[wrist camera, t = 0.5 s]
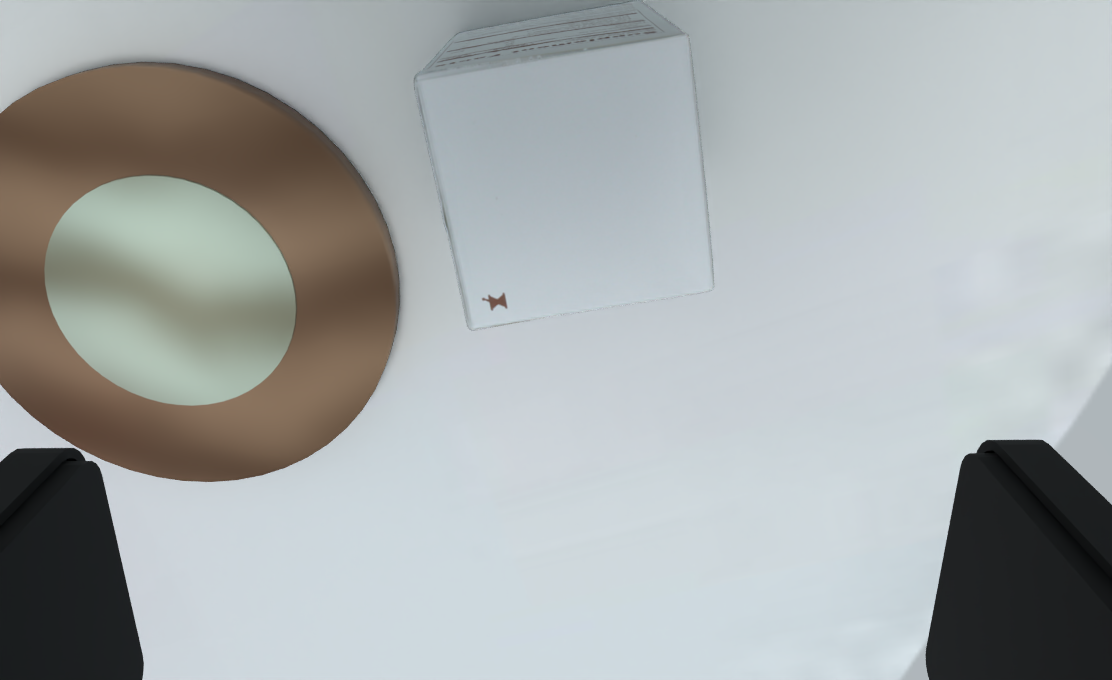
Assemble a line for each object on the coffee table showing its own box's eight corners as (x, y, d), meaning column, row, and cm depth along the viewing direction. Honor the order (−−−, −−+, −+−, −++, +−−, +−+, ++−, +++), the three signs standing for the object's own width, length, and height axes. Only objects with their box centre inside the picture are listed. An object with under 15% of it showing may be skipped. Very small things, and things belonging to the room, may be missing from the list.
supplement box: (666, 185, 37) (720, 302, 26) (486, 212, 38) (460, 339, 26) (646, -7, 34) (697, 29, 23) (451, 25, 35) (404, 76, 23)
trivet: (-93, 65, 35) (-122, 71, 33) (379, 58, 35) (371, 64, 33) (27, 467, 42) (7, 487, 41) (415, 460, 42) (410, 481, 41)
